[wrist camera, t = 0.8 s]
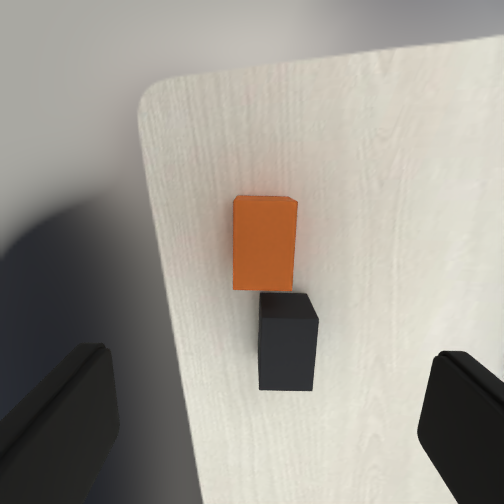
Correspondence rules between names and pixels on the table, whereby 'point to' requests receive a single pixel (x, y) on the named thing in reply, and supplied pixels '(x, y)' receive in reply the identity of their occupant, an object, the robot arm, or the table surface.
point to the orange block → (263, 242)
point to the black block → (286, 342)
